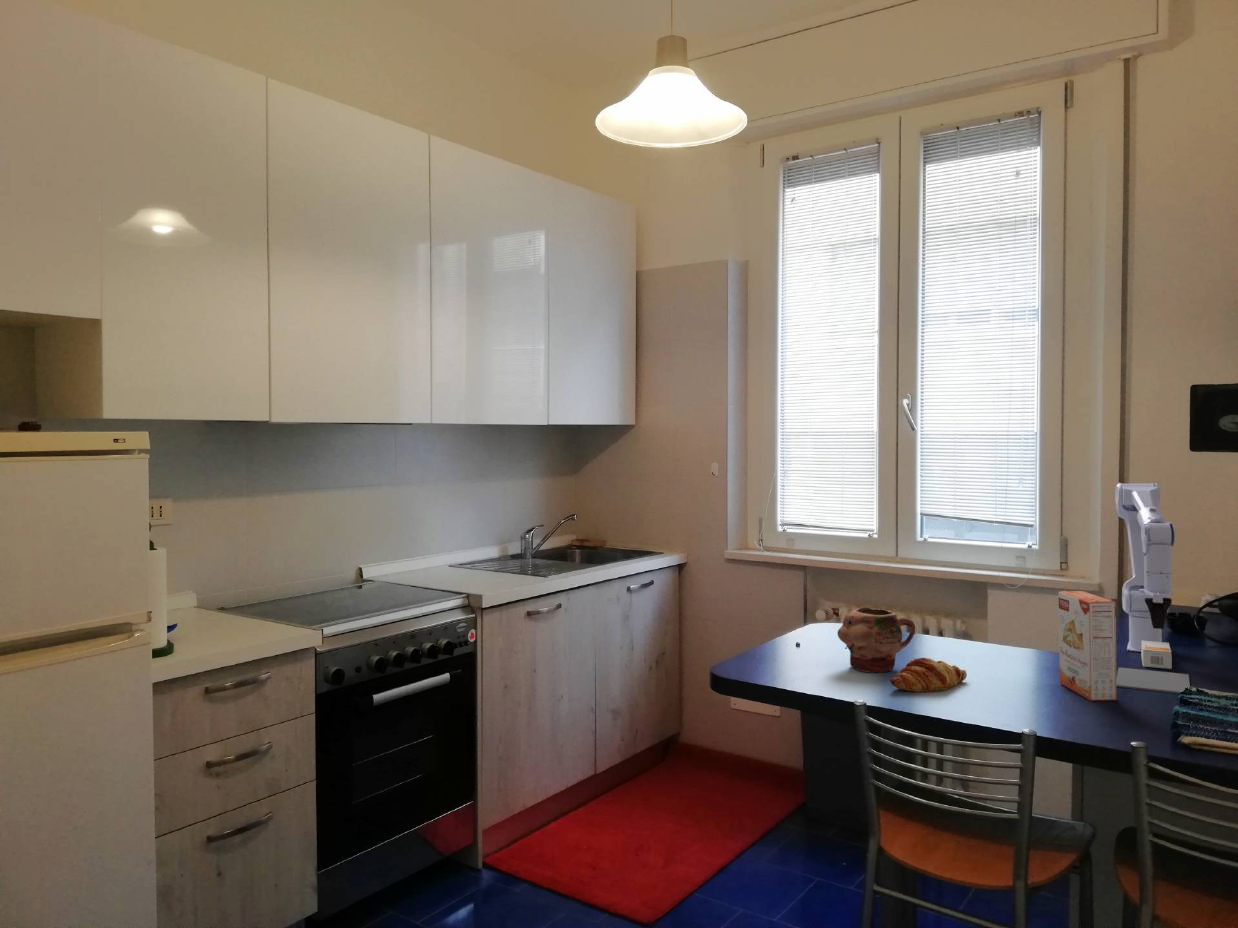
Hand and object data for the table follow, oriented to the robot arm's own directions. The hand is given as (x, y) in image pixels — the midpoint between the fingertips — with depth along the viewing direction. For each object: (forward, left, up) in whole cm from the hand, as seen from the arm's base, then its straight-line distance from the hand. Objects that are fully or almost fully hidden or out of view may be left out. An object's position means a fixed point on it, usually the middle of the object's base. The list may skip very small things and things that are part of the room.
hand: (1158, 628), depth 220 cm
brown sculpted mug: (+37, -58, -9) cm, 69 cm away
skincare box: (+7, 0, -6) cm, 9 cm away
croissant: (+48, -43, -9) cm, 65 cm away
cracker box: (+38, -13, -9) cm, 41 cm away
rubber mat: (+21, -1, -8) cm, 22 cm away
